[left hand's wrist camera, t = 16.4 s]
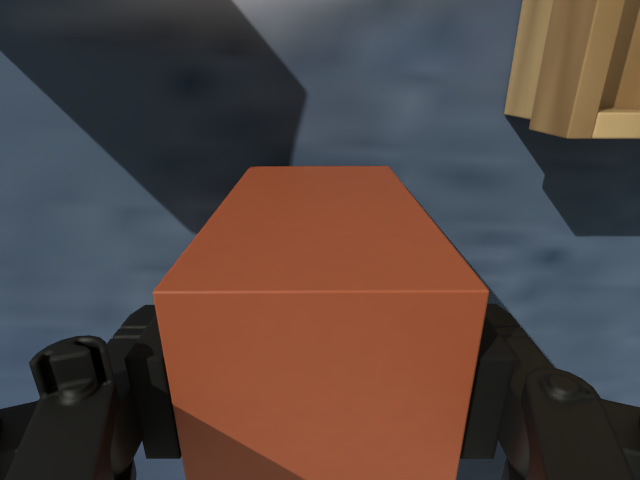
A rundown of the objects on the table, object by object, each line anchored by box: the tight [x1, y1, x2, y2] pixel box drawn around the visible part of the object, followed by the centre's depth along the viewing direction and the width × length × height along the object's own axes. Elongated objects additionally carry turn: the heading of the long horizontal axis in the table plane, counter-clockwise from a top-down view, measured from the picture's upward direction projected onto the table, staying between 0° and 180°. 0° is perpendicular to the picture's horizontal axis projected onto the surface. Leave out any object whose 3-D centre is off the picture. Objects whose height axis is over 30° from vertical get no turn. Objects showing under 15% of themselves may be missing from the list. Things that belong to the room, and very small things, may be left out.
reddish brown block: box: [153, 166, 489, 480], centre depth 13 cm, size 6×6×11 cm
